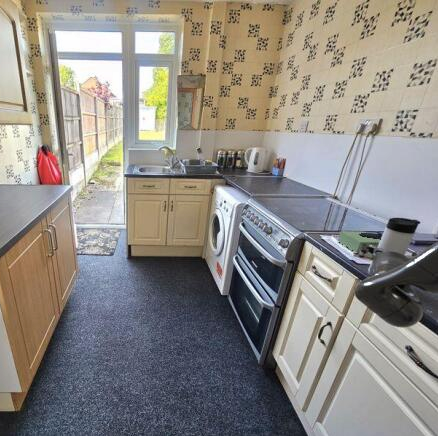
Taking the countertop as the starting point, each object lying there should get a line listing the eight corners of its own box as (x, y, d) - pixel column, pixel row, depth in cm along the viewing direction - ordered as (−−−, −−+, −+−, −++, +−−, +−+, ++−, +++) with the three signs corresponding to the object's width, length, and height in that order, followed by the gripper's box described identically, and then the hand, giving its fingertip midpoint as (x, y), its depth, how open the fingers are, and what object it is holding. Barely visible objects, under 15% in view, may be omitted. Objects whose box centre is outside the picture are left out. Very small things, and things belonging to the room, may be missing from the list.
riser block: (360, 242, 103) (364, 231, 101) (381, 254, 94) (386, 242, 92) (337, 241, 103) (340, 231, 101) (355, 253, 94) (360, 242, 92)
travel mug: (398, 284, 76) (426, 224, 69) (372, 279, 78) (397, 221, 71) (387, 273, 81) (412, 217, 74) (363, 269, 83) (385, 214, 76)
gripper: (438, 269, 57) (433, 246, 68) (360, 248, 66) (366, 231, 77) (424, 295, 60) (421, 270, 70) (351, 271, 69) (358, 252, 80)
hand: (393, 249), depth 74 cm, fingers open, 8 cm apart
